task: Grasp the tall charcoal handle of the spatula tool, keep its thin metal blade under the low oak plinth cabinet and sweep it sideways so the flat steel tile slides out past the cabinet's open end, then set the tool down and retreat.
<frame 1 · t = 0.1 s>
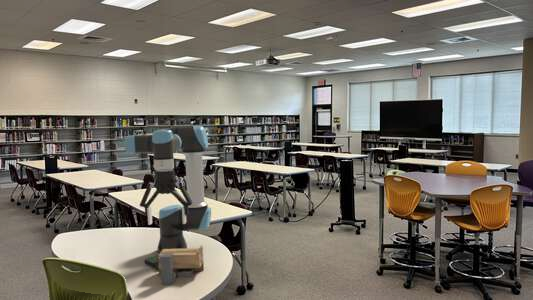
hand: (167, 223, 153), 28 cm above the table, fingers open, 13 cm apart
blade tool: (168, 282, 164), on the table
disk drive: (161, 265, 186), on the table
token: (186, 275, 172), on the table
cabinet: (182, 273, 173), on the table
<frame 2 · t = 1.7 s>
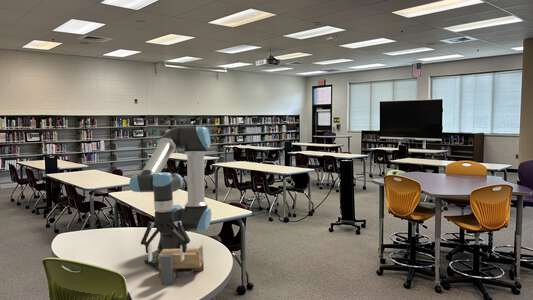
hand: (166, 260, 163), 10 cm above the table, fingers open, 13 cm apart
nothing on the table moved.
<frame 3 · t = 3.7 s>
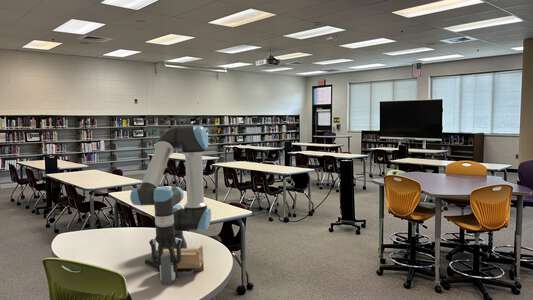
hand: (167, 278, 164), 2 cm above the table, fingers closed on blade tool, 4 cm apart
blade tool: (168, 282, 164), on the table, touching gripper
everything else where it was.
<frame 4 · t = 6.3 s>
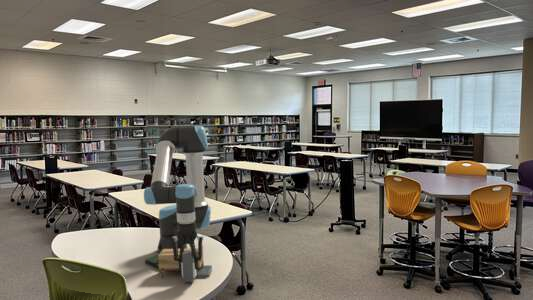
hand: (189, 276, 163), 3 cm above the table, fingers closed on blade tool, 4 cm apart
blade tool: (189, 280, 163), point 1 cm above the table, touching gripper, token
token: (204, 274, 172), on the table, touching blade tool
everything else where it was.
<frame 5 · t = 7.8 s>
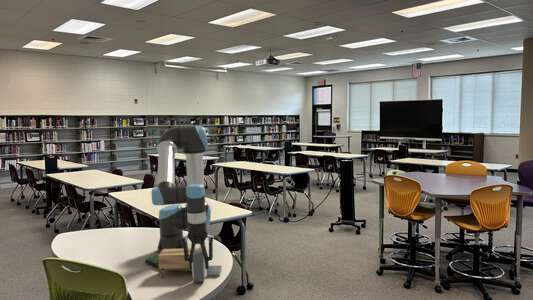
hand: (199, 276, 163), 3 cm above the table, fingers closed on blade tool, 4 cm apart
blade tool: (199, 280, 163), point 1 cm above the table, touching gripper
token: (214, 274, 172), on the table
everything else where it was.
when the fingers open (2 cm above the table, at t = 9.0 s): blade tool stays where it is, on the table.
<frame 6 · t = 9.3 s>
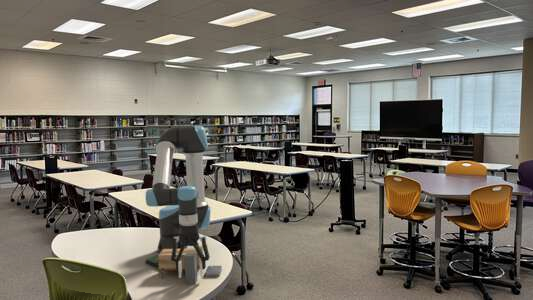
hand: (191, 276, 163), 3 cm above the table, fingers open, 8 cm apart
blade tool: (191, 282, 163), on the table
everything else where it was.
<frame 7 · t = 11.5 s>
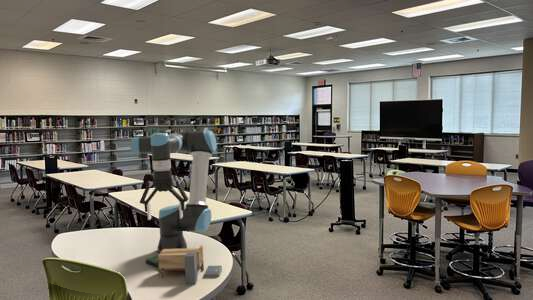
hand: (165, 218, 168), 26 cm above the table, fingers open, 13 cm apart
nothing on the table moved.
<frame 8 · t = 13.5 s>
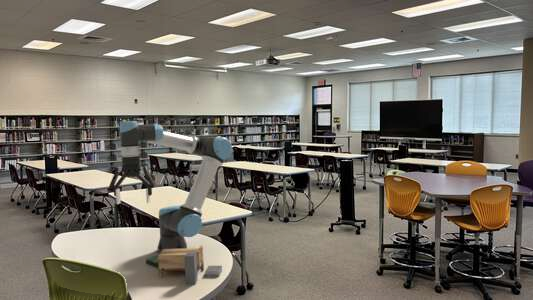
hand: (133, 203, 174), 32 cm above the table, fingers open, 13 cm apart
nothing on the table moved.
at the end: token inside the target area (2.2 cm from its centre), on the table; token touching table; the gripper is holding nothing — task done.
